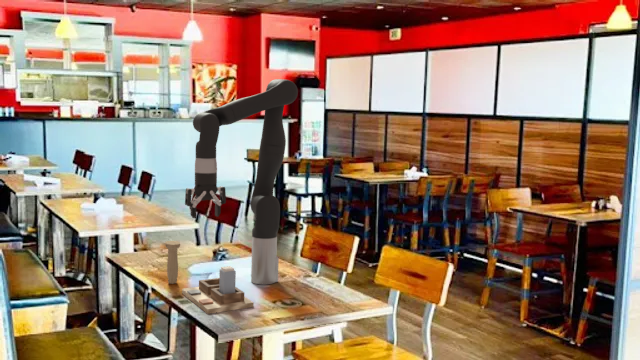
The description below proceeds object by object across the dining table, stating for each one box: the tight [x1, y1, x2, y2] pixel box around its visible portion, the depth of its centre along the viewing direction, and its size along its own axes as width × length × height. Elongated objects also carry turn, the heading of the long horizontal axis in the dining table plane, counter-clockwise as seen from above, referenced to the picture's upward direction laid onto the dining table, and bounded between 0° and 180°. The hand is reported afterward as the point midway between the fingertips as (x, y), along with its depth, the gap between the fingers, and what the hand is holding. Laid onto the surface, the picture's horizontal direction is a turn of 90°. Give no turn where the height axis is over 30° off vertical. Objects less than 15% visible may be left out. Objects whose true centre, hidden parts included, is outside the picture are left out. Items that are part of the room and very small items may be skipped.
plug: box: [218, 265, 237, 294], centre depth 216 cm, size 4×4×11 cm
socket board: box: [181, 277, 255, 315], centre depth 220 cm, size 16×24×4 cm, turn 31°
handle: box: [164, 240, 181, 285], centre depth 237 cm, size 5×6×15 cm
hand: (205, 217), depth 227 cm, fingers open, 8 cm apart
